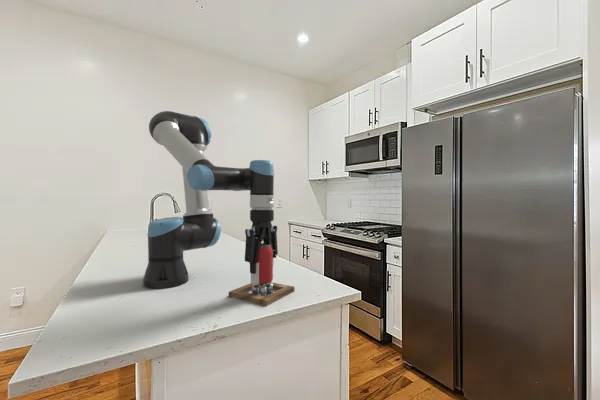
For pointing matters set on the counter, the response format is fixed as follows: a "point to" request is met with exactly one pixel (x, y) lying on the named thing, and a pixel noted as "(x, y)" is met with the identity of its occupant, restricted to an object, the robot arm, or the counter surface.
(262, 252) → the beer can
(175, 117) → the robot arm
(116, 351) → the counter surface
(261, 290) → the peg stand
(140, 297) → the counter surface
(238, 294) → the face frame
